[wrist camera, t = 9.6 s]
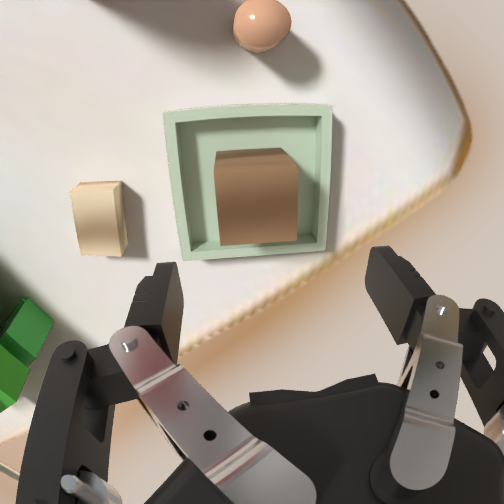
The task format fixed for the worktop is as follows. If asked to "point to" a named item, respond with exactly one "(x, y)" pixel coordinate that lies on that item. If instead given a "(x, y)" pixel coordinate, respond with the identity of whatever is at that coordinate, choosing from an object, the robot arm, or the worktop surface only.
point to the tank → (20, 348)
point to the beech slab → (99, 218)
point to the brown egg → (261, 24)
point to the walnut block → (256, 196)
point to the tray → (247, 137)
